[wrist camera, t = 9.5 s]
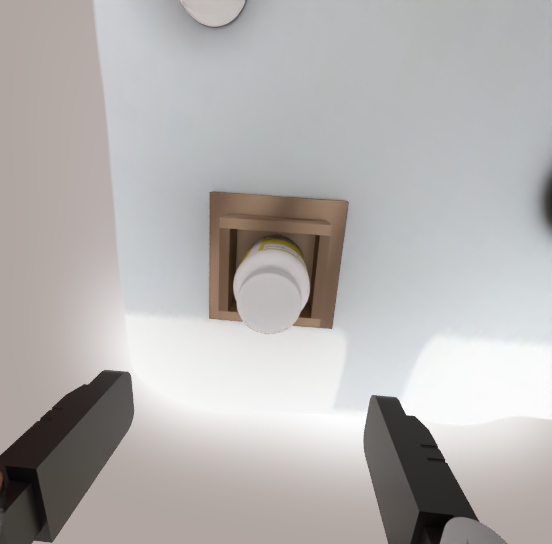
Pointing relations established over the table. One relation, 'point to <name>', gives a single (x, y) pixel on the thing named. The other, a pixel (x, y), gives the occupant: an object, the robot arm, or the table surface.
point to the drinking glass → (213, 10)
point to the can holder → (285, 222)
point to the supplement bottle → (271, 284)
